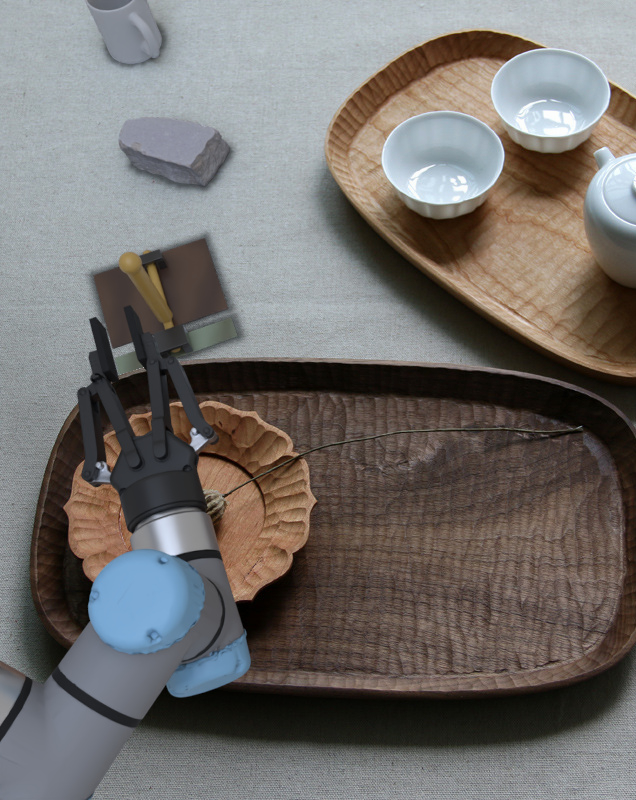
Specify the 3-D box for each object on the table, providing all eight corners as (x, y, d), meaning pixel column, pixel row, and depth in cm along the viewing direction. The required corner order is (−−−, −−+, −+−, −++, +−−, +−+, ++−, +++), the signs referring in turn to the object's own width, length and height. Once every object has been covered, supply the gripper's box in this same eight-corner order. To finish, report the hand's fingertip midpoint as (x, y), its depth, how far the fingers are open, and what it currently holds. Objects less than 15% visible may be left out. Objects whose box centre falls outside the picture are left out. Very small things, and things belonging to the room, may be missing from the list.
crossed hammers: (167, 355, 106) (125, 296, 91) (139, 258, 112) (95, 187, 97) (186, 348, 106) (147, 288, 91) (157, 252, 112) (116, 181, 97)
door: (123, 381, 106) (112, 369, 103) (97, 280, 113) (85, 265, 109) (240, 341, 108) (232, 327, 104) (207, 243, 114) (199, 227, 110)
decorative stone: (231, 192, 118) (232, 136, 121) (219, 163, 111) (220, 104, 114) (131, 201, 118) (135, 144, 121) (113, 172, 112) (118, 113, 115)
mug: (100, 49, 129) (71, -9, 119) (143, 20, 131) (118, -40, 121) (145, 90, 125) (119, 33, 115) (188, 60, 127) (166, 1, 117)
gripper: (102, 562, 79) (55, 359, 87) (259, 503, 80) (197, 310, 89) (69, 545, 72) (22, 326, 81) (242, 481, 73) (177, 274, 82)
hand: (114, 318), depth 85 cm, fingers open, 3 cm apart
